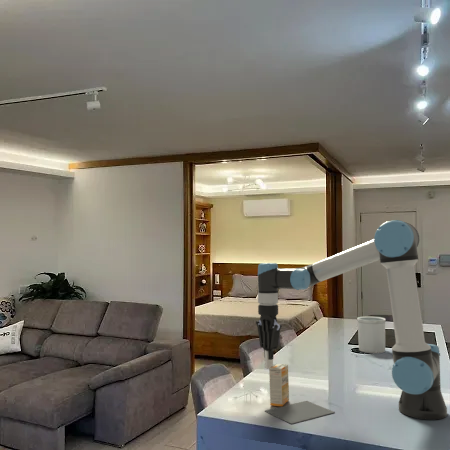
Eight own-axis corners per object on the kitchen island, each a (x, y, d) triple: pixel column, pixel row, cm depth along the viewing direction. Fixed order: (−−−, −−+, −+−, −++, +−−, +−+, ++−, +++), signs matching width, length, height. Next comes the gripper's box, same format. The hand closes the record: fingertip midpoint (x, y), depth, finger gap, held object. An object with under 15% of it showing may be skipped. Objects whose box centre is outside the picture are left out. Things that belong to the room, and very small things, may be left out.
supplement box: (283, 407, 161) (281, 368, 162) (269, 405, 163) (268, 367, 164) (289, 400, 168) (288, 363, 169) (277, 399, 170) (276, 363, 171)
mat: (334, 412, 156) (334, 412, 156) (291, 424, 146) (291, 423, 146) (306, 401, 168) (306, 400, 168) (264, 411, 158) (264, 410, 158)
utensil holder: (383, 354, 242) (382, 321, 242) (354, 351, 249) (354, 319, 250) (388, 349, 254) (387, 317, 255) (361, 346, 262) (360, 315, 263)
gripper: (287, 305, 169) (288, 370, 168) (265, 301, 180) (266, 362, 179) (270, 306, 165) (271, 373, 164) (250, 303, 177) (250, 365, 175)
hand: (268, 367), depth 172 cm, fingers closed
